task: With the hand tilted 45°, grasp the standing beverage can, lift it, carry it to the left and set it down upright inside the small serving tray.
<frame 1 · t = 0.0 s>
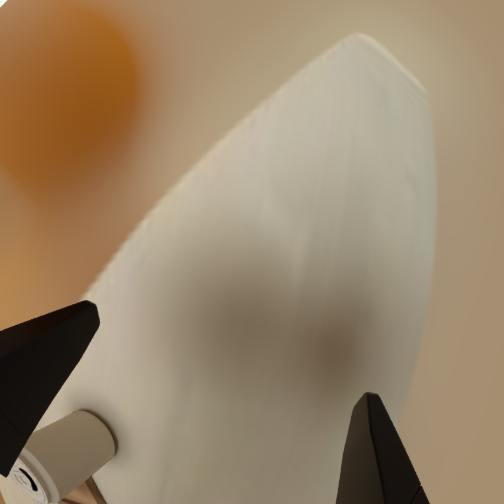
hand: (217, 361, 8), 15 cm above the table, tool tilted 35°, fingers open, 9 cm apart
beverage can: (95, 433, 24), on the table
tray: (66, 476, 24), on the table
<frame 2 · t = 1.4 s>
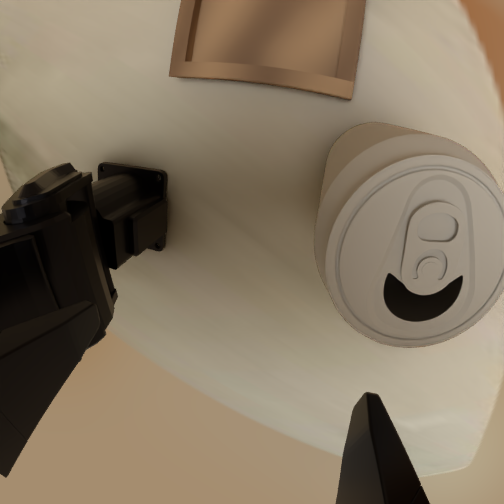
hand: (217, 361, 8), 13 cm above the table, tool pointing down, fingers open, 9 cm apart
beverage can: (375, 172, 17), on the table
tray: (272, 6, 13), on the table
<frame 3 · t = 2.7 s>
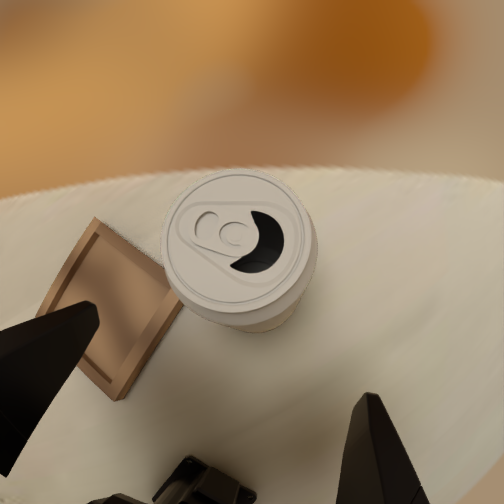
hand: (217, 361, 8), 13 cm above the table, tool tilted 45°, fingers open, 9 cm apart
beverage can: (255, 290, 22), on the table
tray: (107, 307, 23), on the table
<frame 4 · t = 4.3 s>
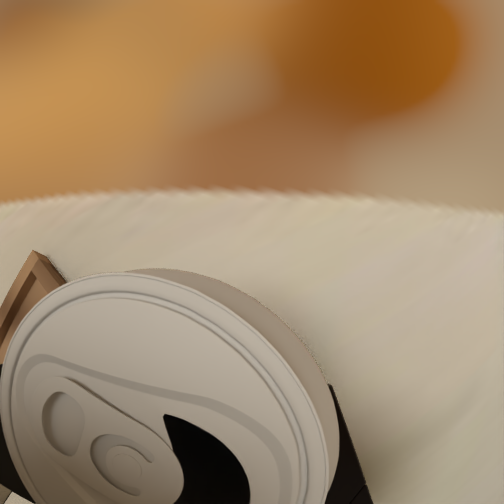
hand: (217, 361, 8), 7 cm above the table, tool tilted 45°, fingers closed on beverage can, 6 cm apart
beverage can: (234, 378, 15), on the table, touching gripper
tray: (48, 368, 15), on the table
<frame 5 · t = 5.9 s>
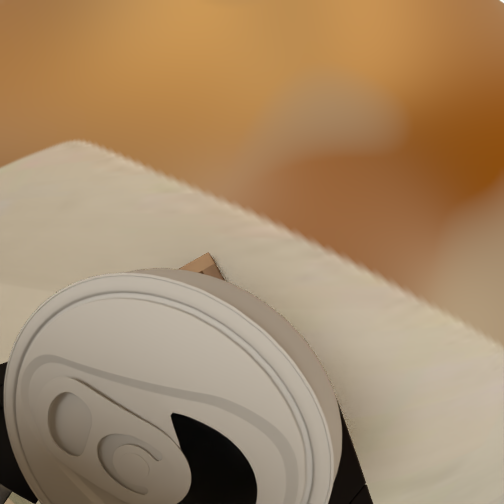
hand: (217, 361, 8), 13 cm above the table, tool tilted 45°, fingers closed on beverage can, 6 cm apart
beverage can: (233, 376, 15), point 6 cm above the table, touching gripper
tray: (182, 353, 21), on the table
when the fingers open (8 cm above the table, at t = 7.6 s): beverage can stays where it is, resting on tray.
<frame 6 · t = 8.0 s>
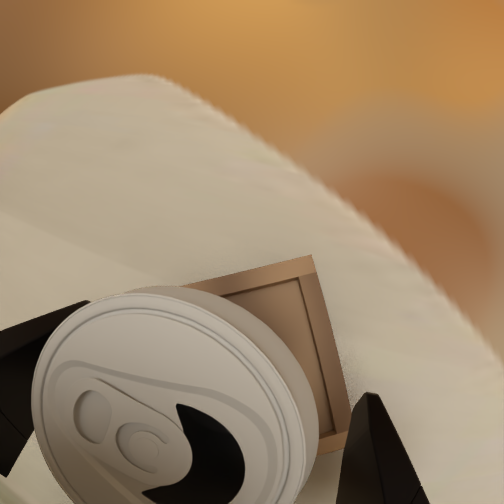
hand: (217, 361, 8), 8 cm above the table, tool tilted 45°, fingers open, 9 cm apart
beverage can: (233, 377, 16), resting on tray
tray: (238, 375, 16), on the table
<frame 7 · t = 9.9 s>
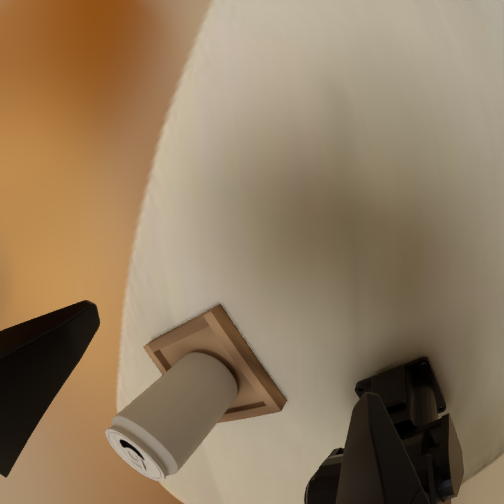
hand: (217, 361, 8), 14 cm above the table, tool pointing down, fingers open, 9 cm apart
beverage can: (212, 374, 27), resting on tray
tray: (212, 370, 28), on the table
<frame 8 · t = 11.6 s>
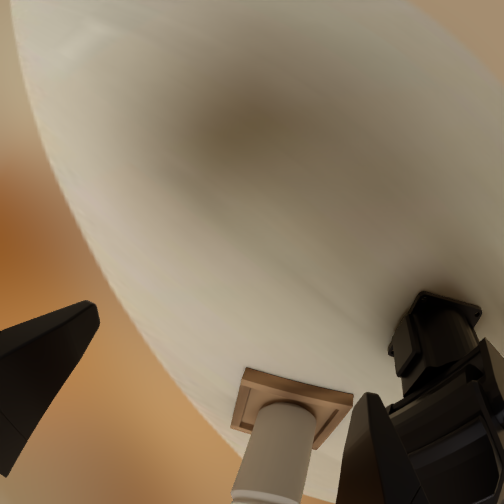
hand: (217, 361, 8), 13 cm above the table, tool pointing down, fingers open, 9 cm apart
beverage can: (288, 413, 29), resting on tray
tray: (287, 410, 29), on the table
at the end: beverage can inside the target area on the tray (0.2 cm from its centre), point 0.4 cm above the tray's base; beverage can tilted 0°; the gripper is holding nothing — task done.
